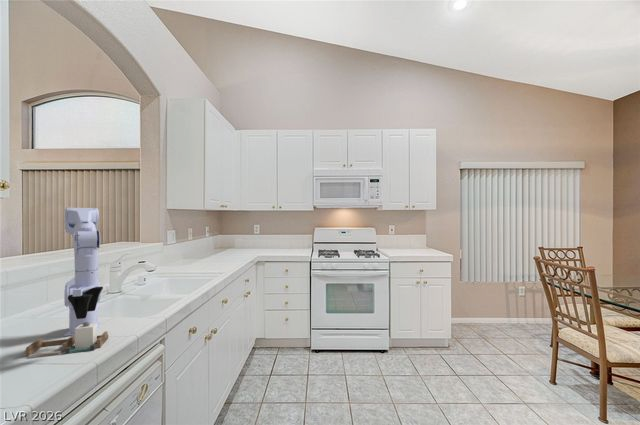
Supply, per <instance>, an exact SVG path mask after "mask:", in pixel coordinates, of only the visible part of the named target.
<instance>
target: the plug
mask: <svg viewBox="0 0 640 425" xmlns="http://www.w3.org/2000/svg"><path fill="white" fill-rule="evenodd" d="M97 336H98V328H97V323H94V324H90V322H84V323H83V325H79V326H78V327H77V328H75V344H74V349H79V348H88V347H90V346H91V345H92V344H96V345H97Z"/></svg>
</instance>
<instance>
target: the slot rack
mask: <svg viewBox="0 0 640 425" xmlns="http://www.w3.org/2000/svg"><path fill="white" fill-rule="evenodd" d="M108 332H109V331H107V330H106V331H104V332H103V333H102V334H101V335H97V343H96V344H92V345H91V346H90V347H87V348H78V349H75V348H72V347H73V346H75V335H72V336H70V337H68V338H64V339H55V340H46V341H45V340H44V341H43V338H42V337H41V338H38V339H36V340H35V341H33V342H32V343H31V344H29V345H28V346H26V347H25V357H26V358H28V359H33V358H41V357H49V356H57V355H60V354H61V353H65V354H72V353H73V354H74V353H84V352H90V351H95V350H96V348H97V349H101V348H102V346H103V345H104V344H105V343H106V342H107V340H108V339H109V333H108ZM60 345H62V351H61V350H55V351H47V352H38V353H36V352H37V351H38V350H40V349H41V348H42V347H50V346H60Z"/></svg>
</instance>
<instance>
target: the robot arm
mask: <svg viewBox="0 0 640 425" xmlns="http://www.w3.org/2000/svg"><path fill="white" fill-rule="evenodd" d="M99 214H100V213H99V208H97V207H69V206H68V207H66V208H65V207H64V229H65V232H66V233H67V234H69V235H71V236H72V247H73V251H74V277H72V279H70V280H69V281H67V282H66V283H65V285H64V300H63V302H64V306H65V307H67V308H69V310H68V311H69V313H68V314H69V315H68V318H69V319H68V329H69V330H68V331H67V332H66V333H65V334H63V337H69V336H70V337H71V336H72V335H75V328H77V327H78V326H79V325H83V323H84V322H90V324H94V323H97V329H98V328H99V327H100V326H101V325H102V323H101V322H100V323H99V307H98V303H99V302H100V301H101V297H102V296H101V295H102V294H101V293H102V290H103V289H104V286H101V284H100V280H99V249H100V248H101V233H100V230H99V229H98V226H99V221H100V220H99V219H100V218H99V216H100V215H99ZM97 229H98V230H97Z"/></svg>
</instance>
